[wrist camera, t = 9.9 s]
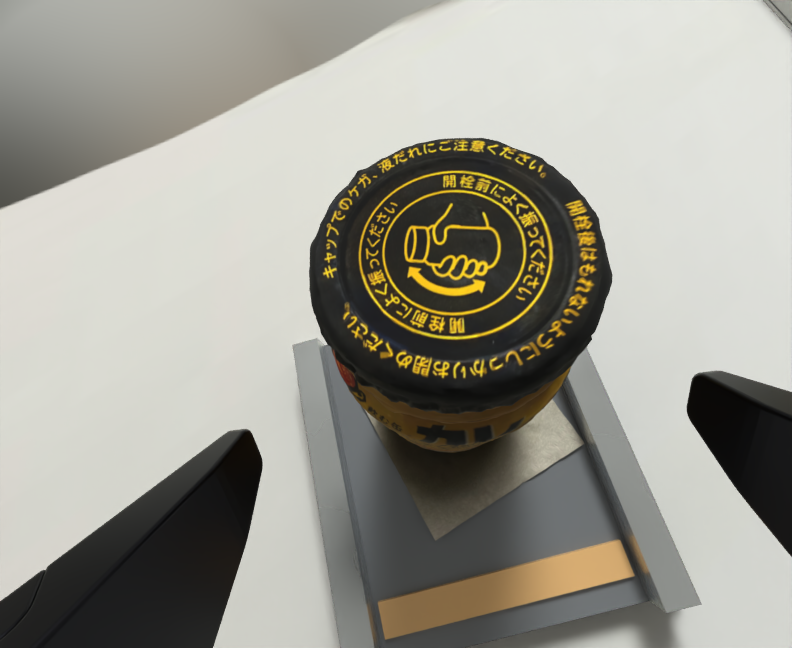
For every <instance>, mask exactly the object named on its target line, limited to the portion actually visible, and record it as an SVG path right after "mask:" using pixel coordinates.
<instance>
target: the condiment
mask: <svg viewBox="0 0 792 648" xmlns="http://www.w3.org/2000/svg"><path fill="white" fill-rule="evenodd" d="M309 277H310V293H311V302H312V307H313V311H314V313H315V315H316V319H317V322H318V324H319V327H320V330H321V334H322V336H323V337H324V339H325V341H326V342H327V344H328V345H329V346H330V347H331V350H332V353H333V356H334V358H335V361H336V364H337V367H338V370H339V372H340V375H341V377H342V378H343V380H344V382H345V383H346V385H347V387H348V389H349V392H350V393H351V394H352V395H353V396H354V398H355V400H356V401H357V402H358V403H359V404H360V405H361V406H362V407H363V408H364V409H365V411H366V413H367V415H368V417H369V418H370V420H371V422H372V424H373V426H374V428H375V430H376V431H377V433H378V435H379V437H380V439H381V441H382V443H383V445H384V447H385V448H386V450H387V452H388V454H389V456H390V458H391V460H392V462H393V463H394V465H395V467H396V469H397V471H398V472H399V474H400V476H401V478H402V480H403V482H404V484H405V485H406V487H407V489H408V491H409V493H410V495H411V496H412V498H413V500H414V502H415V504H416V506H417V508H418V509H419V511H420V513H421V515H422V517H423V519H424V521H425V523H426V524H427V526H428V528H429V530H430V532H431V534H432V536H433V537H434V539H435V541H436V540H437V539H439V538H440V537H442V536H443V535H445V534H447V533H448V532H450V531H451V530H452V529H454V528H455V527H457V526H458V525H460V524H461V523H463V522H464V521H466V520H467V519H469V518H470V517H472V516H473V515H475V514H477V513H478V512H480V511H481V510H483V509H484V508H486V507H487V506H489V505H490V504H492V503H493V502H495V501H496V500H498V499H499V498H501V497H502V496H504V495H506V494H507V493H509V492H510V491H512V490H513V489H515V488H516V487H518V486H519V485H521V483H523V482H525V481H527V480H529V479H530V478H532V477H534V476H535V475H537V474H538V473H539V472H541V471H543V470H545V469H546V468H548V467H549V466H550V465H552V464H553V463H555V462H557V461H558V460H559V459H561V458H563V457H565V456H566V455H568V454H569V453H571V452H572V451H574V450H575V449H577V448H578V447H580V446H582V445H583V444H584V442H583V440H582V439H581V438H580V436H579V435H578V434H577V432H576V431H575V429H574V428H573V427H572V425H571V424H570V423H569V421H568V420H567V419H566V418H565V416H564V415H563V414H562V412H561V411H560V410H559V408H558V406H557V405H556V403H555V402H554V401H553V400H552V399H553V397H554V396H555V395H556V393H557V392H558V390H559V389H560V387H561V386H562V384H563V383H564V381H565V380H566V378H567V376H568V374H569V372H570V369H571V366H572V365H573V363H574V362H575V360H576V359H577V357H578V356H579V355H580V354H581V353H582V352H583V351H584V350H585V348H586V347H587V345H588V344H589V343H590V341H591V340H592V337H591V335H592V334H593V333H594V332H595V330H596V328H597V325H598V323H599V320H600V317H601V314H602V312H603V308H604V304H605V300H606V298H607V296H608V294H609V290H610V287H611V284H612V272H611V268H610V265H609V261H608V257H607V253H606V248H605V242H604V239H603V236H602V233H601V230H600V224H599V218H598V217H597V215H596V213H595V212H594V210H593V209H592V208H591V207H590V205H589V204H588V202H587V200H586V199H585V198H584V197H583V196H582V195H581V194H580V193H579V191H578V190H577V189H576V188H575V186H574V185H573V184H572V183H571V181H569V180H568V179H567V178H565V177H564V176H563V175H562V174H560V173H559V172H558V171H557V170H556V169H555V168H554V167H553V166H551V165H549V164H547V163H546V162H545V161H544V160H543V159H542V158H540V157H538V156H535V155H533V154H530V153H526V152H523V151H520V150H518V149H515V148H512V147H510V146H508V145H505V144H503V143H501V142H499V141H494V140H489V139H484V138H455V139H439V140H434V141H429V142H424V143H419V144H415V145H413V146H410V147H406V148H403V149H401V150H399V151H397V152H395V153H394V154H392V155H390V156H388V157H386V158H383V159H381V160H379V161H378V162H376V163H375V164H373V165H371V166H370V167H368V168H366V169H363V170H359V171H357V173H356V175H355V177H354V178H353V179H352V180H351V182H350V183H349V185H348V186H347V187H345V188H344V189H343V190H342V191H341V192H340V193H339V194H338V195H337V196H336V197H335V199H334V200H333V201H332V203H331V204H330V206H329V208H328V210H327V213H326V215H325V217H324V219H323V220H322V222H321V224H320V227H319V230H318V233H317V235H316V237H315V239H314V240H313V242H312V244H311V247H310V269H309Z"/></svg>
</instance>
